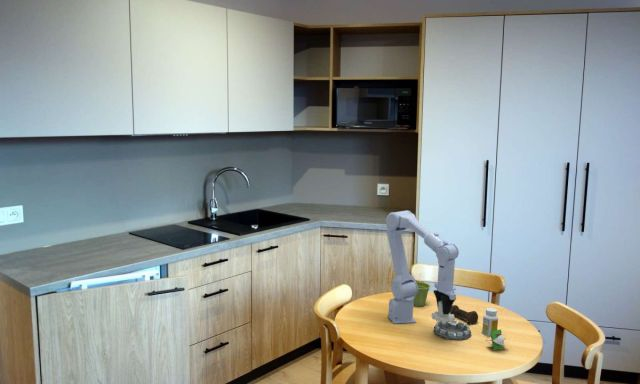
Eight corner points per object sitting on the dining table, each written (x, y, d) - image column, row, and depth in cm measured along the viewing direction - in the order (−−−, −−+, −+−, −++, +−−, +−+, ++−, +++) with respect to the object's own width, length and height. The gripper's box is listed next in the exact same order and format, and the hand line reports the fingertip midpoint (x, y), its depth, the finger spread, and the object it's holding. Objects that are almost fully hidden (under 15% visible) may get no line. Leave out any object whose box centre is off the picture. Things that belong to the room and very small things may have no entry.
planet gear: (437, 323, 194) (438, 307, 193) (428, 314, 202) (429, 299, 201) (458, 322, 196) (459, 306, 195) (448, 313, 204) (449, 298, 203)
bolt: (447, 316, 225) (474, 327, 212) (439, 312, 222) (467, 323, 210) (452, 303, 226) (480, 313, 213) (445, 299, 223) (473, 309, 211)
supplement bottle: (496, 332, 204) (498, 308, 203) (496, 337, 199) (498, 313, 198) (482, 330, 206) (484, 306, 205) (481, 335, 201) (483, 310, 200)
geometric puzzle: (480, 337, 194) (489, 325, 188) (495, 335, 196) (505, 324, 191) (488, 355, 189) (498, 344, 184) (504, 353, 191) (515, 342, 186)
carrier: (442, 341, 194) (443, 335, 194) (427, 326, 208) (428, 320, 208) (477, 339, 197) (478, 332, 197) (460, 324, 211) (460, 318, 211)
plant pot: (431, 302, 235) (432, 283, 234) (426, 309, 226) (427, 289, 225) (410, 299, 239) (411, 280, 237) (405, 305, 230) (406, 286, 229)
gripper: (464, 282, 190) (462, 318, 192) (447, 270, 204) (445, 304, 206) (446, 283, 189) (444, 319, 191) (430, 271, 203) (428, 305, 205)
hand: (443, 311), depth 198 cm, fingers closed on planet gear, 4 cm apart
